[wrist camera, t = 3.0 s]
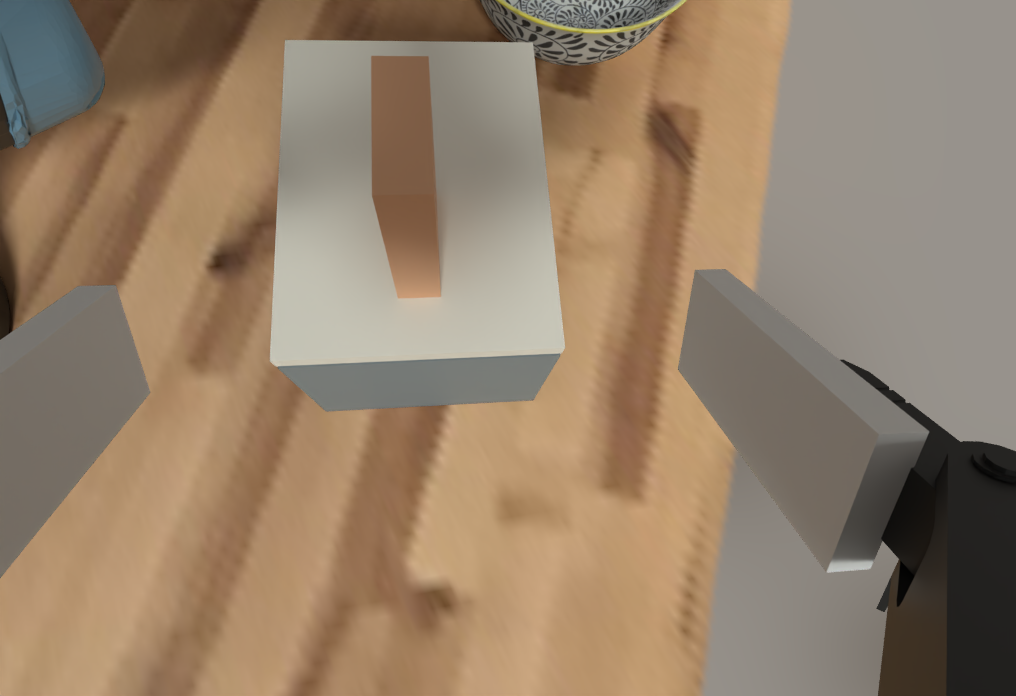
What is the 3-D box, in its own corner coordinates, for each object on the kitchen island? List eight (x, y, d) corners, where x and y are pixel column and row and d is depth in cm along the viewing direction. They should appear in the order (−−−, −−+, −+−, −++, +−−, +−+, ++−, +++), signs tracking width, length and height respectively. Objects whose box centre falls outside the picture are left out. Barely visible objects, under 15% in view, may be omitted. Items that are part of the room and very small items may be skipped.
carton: (330, 169, 38) (291, 57, 29) (513, 167, 39) (530, 59, 30) (326, 411, 33) (277, 368, 24) (533, 400, 35) (560, 355, 26)
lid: (289, 52, 29) (220, -144, 20) (530, 54, 30) (560, -130, 21) (275, 366, 24) (179, 280, 16) (561, 353, 25) (614, 266, 17)
